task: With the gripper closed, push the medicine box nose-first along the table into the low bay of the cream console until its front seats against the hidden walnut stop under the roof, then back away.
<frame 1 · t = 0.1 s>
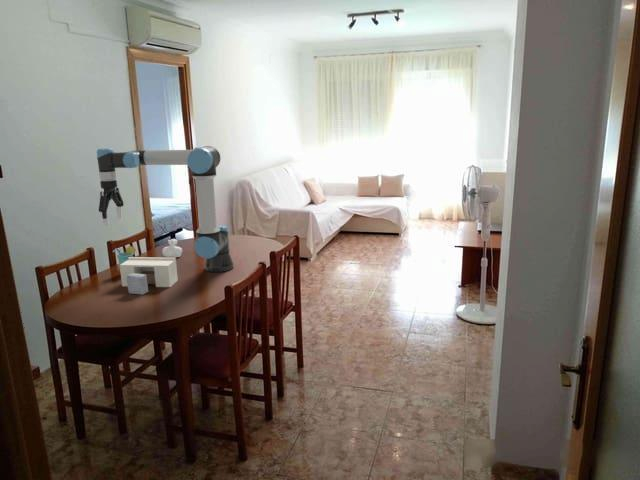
hand: (113, 221, 253), 28 cm above the table, fingers open, 13 cm apart
console: (145, 286, 241), on the table
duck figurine: (173, 256, 292), on the table
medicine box: (138, 293, 233), on the table
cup: (126, 274, 260), on the table
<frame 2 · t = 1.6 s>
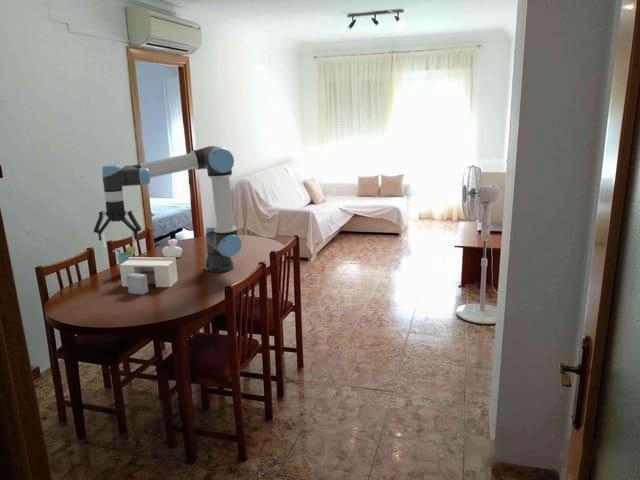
hand: (119, 247, 226), 23 cm above the table, fingers open, 13 cm apart
nothing on the table moved.
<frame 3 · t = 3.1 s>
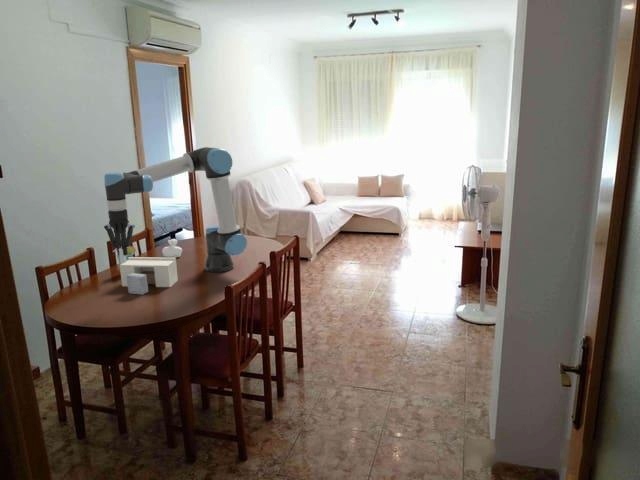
hand: (123, 262, 219), 18 cm above the table, fingers closed
nothing on the table moved.
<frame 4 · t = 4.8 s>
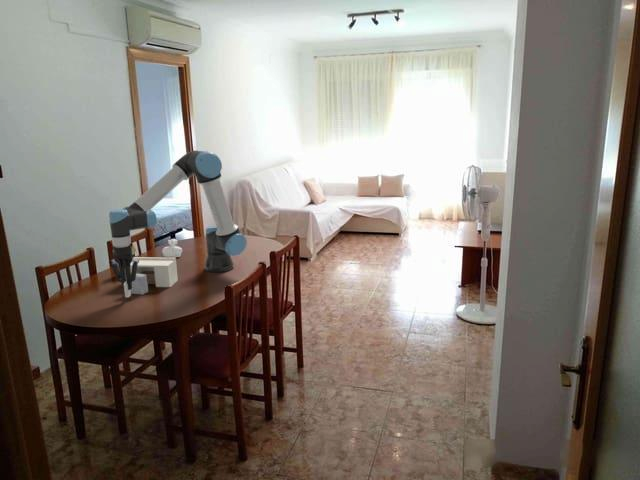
hand: (128, 296, 223), 2 cm above the table, fingers closed
nothing on the table moved.
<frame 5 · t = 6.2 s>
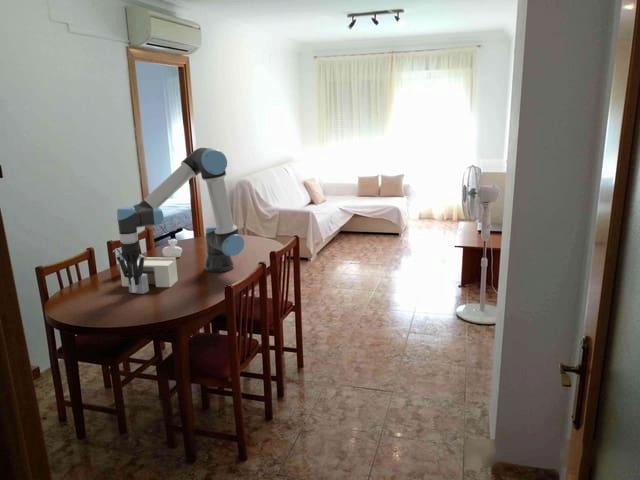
hand: (135, 291, 229), 2 cm above the table, fingers closed
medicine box: (139, 292, 234), on the table, touching gripper
everything else where it was.
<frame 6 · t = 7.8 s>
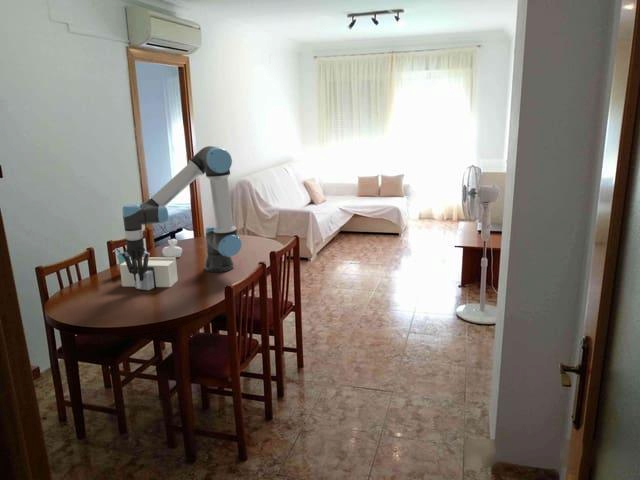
hand: (139, 287, 234), 2 cm above the table, fingers closed
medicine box: (145, 288, 238), on the table, touching gripper
everything else where it was.
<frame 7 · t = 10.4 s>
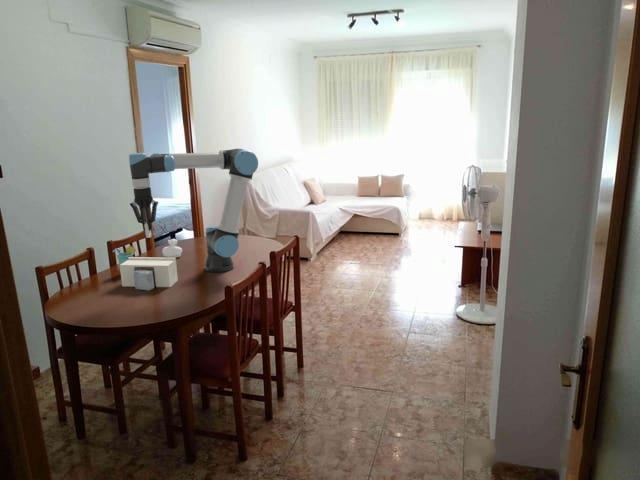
hand: (148, 237, 235), 24 cm above the table, fingers closed
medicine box: (145, 288, 238), on the table
everything else where it was.
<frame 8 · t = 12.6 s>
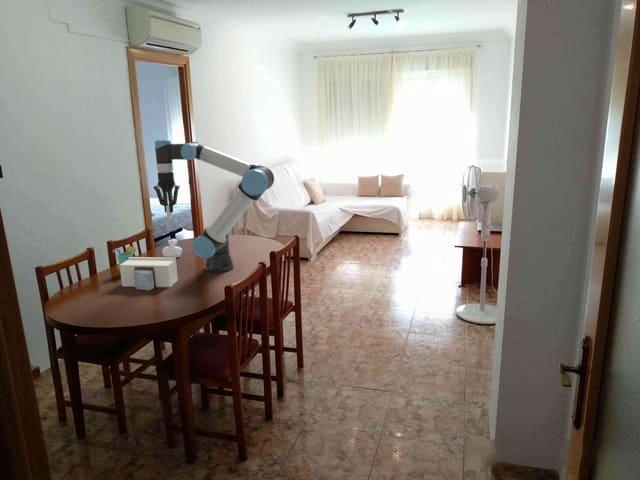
hand: (169, 218, 251), 29 cm above the table, fingers closed
nothing on the table moved.
at the end: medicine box inside the target area (2.7 cm from its centre), on the table; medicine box tilted 0° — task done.
